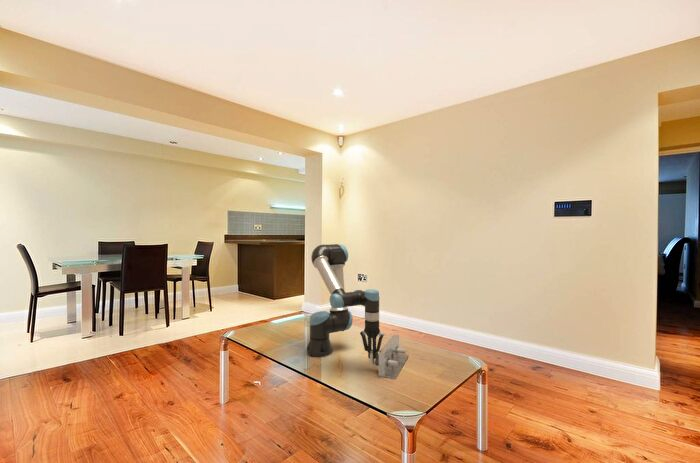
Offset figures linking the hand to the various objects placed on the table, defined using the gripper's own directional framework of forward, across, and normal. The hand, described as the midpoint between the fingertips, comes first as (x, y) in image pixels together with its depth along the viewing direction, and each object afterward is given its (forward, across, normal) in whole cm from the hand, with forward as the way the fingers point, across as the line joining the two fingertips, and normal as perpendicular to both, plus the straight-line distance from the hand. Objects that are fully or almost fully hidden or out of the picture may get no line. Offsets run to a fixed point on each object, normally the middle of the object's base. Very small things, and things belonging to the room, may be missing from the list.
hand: (372, 364), depth 165 cm
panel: (+2, +10, +9) cm, 14 cm away
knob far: (0, +8, +18) cm, 20 cm away
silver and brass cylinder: (-1, +2, +9) cm, 9 cm away
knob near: (0, +8, 0) cm, 8 cm away
